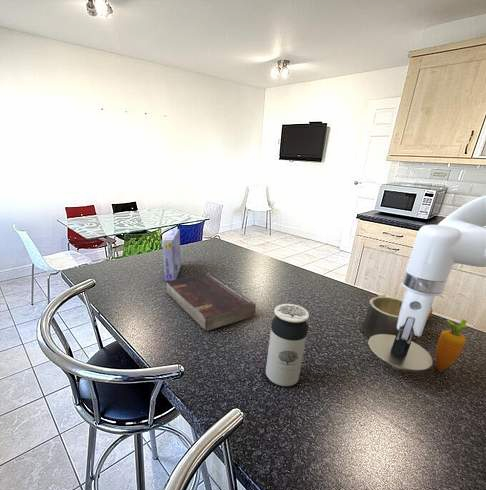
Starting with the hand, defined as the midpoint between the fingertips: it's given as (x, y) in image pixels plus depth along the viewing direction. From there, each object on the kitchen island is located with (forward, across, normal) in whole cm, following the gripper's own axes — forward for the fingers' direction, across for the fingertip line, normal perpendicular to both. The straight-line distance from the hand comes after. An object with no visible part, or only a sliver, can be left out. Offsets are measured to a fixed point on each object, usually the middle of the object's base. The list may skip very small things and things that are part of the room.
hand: (399, 349), depth 71 cm
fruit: (+7, +33, -2) cm, 34 cm away
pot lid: (+1, 0, 0) cm, 1 cm away
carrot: (+7, +8, -10) cm, 14 cm away
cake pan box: (+7, +9, +86) cm, 87 cm away
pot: (+7, +17, +4) cm, 19 cm away
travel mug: (+7, -19, +21) cm, 29 cm away
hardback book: (+7, -3, +57) cm, 58 cm away
